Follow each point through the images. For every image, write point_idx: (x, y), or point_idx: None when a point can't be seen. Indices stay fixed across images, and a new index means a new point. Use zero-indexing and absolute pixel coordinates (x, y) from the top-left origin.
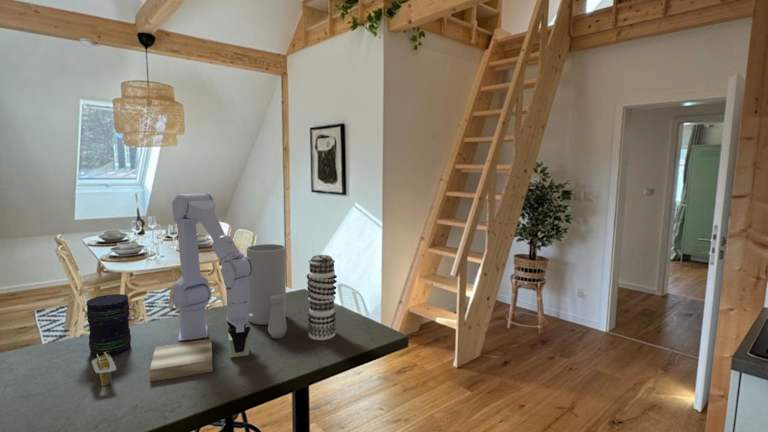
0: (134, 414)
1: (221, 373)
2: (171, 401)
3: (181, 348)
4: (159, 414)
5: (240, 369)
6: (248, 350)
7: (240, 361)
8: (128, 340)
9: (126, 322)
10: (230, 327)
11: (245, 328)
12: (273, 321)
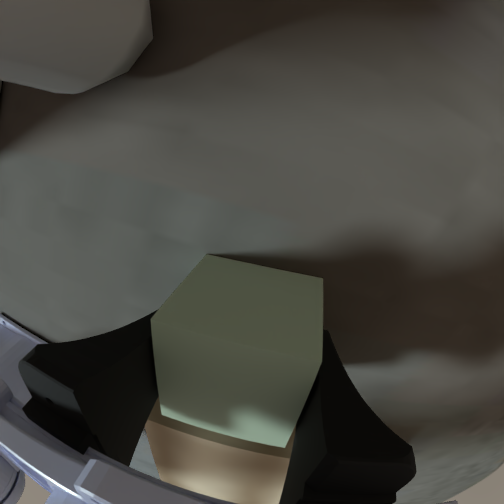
0: (426, 501)
1: (419, 410)
2: (443, 477)
3: (202, 482)
4: (464, 481)
5: (450, 353)
6: (321, 296)
7: (375, 338)
8: None
9: None
10: (138, 435)
11: (361, 485)
12: (49, 40)
